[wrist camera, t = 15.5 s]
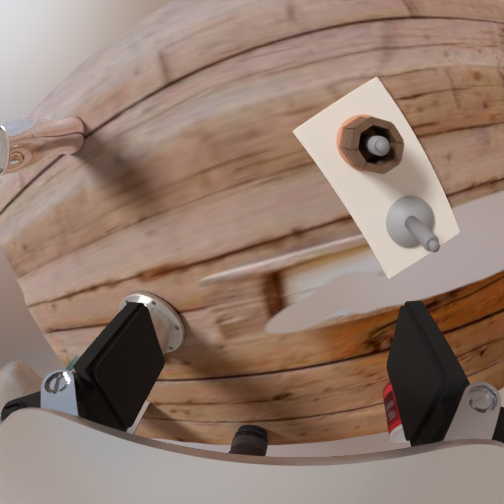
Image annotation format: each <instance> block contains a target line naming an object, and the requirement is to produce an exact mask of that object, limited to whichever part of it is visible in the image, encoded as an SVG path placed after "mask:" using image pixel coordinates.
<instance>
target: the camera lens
mask: <svg viewBox="0 0 504 504" xmlns="http://www.w3.org/2000/svg"><path fill="white" fill-rule="evenodd" d="M267 441H268V439H267V433H266V431H265V430H264V429H262V428H260V427H258V426H253V425H244V426H241V427H240V428H239V429H238V432H236V434H235V436H234V439H233V441H232V445H231V450H230V451H229V453H230V454H239V455H251V456H265V455H266V451H267Z"/></svg>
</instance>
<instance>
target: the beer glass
mask: <svg viewBox="0 0 504 504" xmlns="http://www.w3.org/2000/svg"><path fill="white" fill-rule="evenodd" d="M84 139H85V128H84V125H83V123H82V121H81V120H80V119H79V118H78V117H74V116H73V117H68V118H65V119H62V120H46V119H38V118H26V119H18V120H14V121H10V122H6V123H3V124H0V176H2V175H6V174H11V173H15V172H19V171H22V170H25V169H28V168H31V167H33V166H35V165H37V164H39V163H41V162H43V161H45V160H47V159H49V158H51V157H53V156H55V155H59V154H74V153H76V152H78V151H79V150H80V148H81V147H82V145H83V142H84Z"/></svg>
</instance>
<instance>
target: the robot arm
mask: <svg viewBox="0 0 504 504" xmlns="http://www.w3.org/2000/svg"><path fill="white" fill-rule="evenodd" d="M184 333H185V331H184V326H183V323H182V321H181V319H180V317H179V315H178V314H177V313H176V311H175V310H174V309H173V308H172V307H171V306H170V305H169V304H168V303H166V302H165V301H164V300H162V299H161V298H159V297H157V296H155V295H152V294H150V293H145V292H134V293H131V294H129V295H127V296H126V297H125V298H124V299H123V300H122V302H121V303H120V306H119V313H118V314H117V315H116V316H115V318H114V319H113V320H112V321H111V322H110V323H109V324H108V325H107V327H106V328H105V329H104V330H103V331H102V332H101V333H100V335H99V336H98V337H97V338H96V339H95V340H94V342H93V343H92V344H91V345H90V346H89V347H88V349H87V350H86V351H85V352H84V353H83V355H82V356H81V357H80V358H79V359H78V361H77V362H76V363H75V364H74V365H73V368H74V370H75V372H74V374H72V373H71V372H70V371H68V370H66V369H60V370H56V371H53V372H51V373H50V374H48V375H47V376H46V377H45V378H44V380H43V379H42V378H41V377H40V376H39V375H38V374H37V373H36V372H35V371H34V370H33V369H32V368H31V367H29V366H28V365H26V364H25V363H23V362H21V361H12V362H10V363H8V364H7V365H5V366H4V367H3V368H2V369H1V370H0V504H504V407H501V397H500V394H499V392H498V390H497V389H496V388H495V387H494V386H493V385H491V384H489V383H486V382H482V381H481V382H474V383H471V384H470V383H469V381H468V379H467V377H466V375H465V373H464V371H463V369H462V367H461V366H460V364H459V362H458V360H457V358H456V356H455V355H454V353H453V351H452V349H451V348H450V346H449V344H448V342H447V341H446V339H445V337H444V336H443V335H442V333H441V331H440V330H439V328H438V326H437V325H436V323H435V321H434V320H433V318H432V316H431V315H430V313H429V312H428V310H427V309H426V307H425V306H424V304H423V302H422V301H407V302H406V303H405V305H404V306H401V307H400V310H399V315H398V320H397V324H396V329H395V333H394V337H393V341H392V345H391V349H390V353H389V356H388V360H387V371H388V375H389V378H390V382H391V385H392V389H393V392H394V396H395V400H396V403H397V407H398V411H399V415H400V419H401V423H402V427H403V431H404V436H405V439H406V441H410V443H411V447H409V448H404V449H397V450H391V451H384V452H376V453H367V454H358V455H348V456H333V457H298V458H297V457H265V456H251V455H239V454H230V453H221V452H214V451H207V450H201V449H195V448H189V447H184V446H179V445H174V444H170V443H165V442H161V441H156V440H152V439H148V438H145V437H141V436H137V435H134V434H130V433H127V432H126V431H127V429H128V428H130V427H132V425H133V424H134V422H135V420H136V418H137V416H138V414H139V412H140V410H141V408H142V406H143V405H144V403H145V401H146V399H147V397H148V395H149V393H150V391H151V389H152V387H153V386H154V384H155V382H156V380H157V378H158V376H159V374H160V372H161V371H162V369H163V367H164V363H165V359H164V354H165V353H168V352H172V351H174V350H176V349H177V348H178V347H179V346H180V345H181V343H182V342H183V339H184Z"/></svg>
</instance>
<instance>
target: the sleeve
mask: <svg viewBox="0 0 504 504" xmlns="http://www.w3.org/2000/svg"><path fill="white" fill-rule="evenodd" d="M368 128H371V129H374V131H375V132H376V134H377V135H378V136H382V137H385V138H386V139H387V140H388V142H389V145H390V149H389V152H388V153H387V154H386V155H384V156H378V155H375V156H373V157H372V158H370V159H369V160H366V159H364V158H363V156H362V154H361V153H360V151H359V150H358V146H359V140H360V134H361V132H363V131H365V130H366V129H368ZM403 142H404V140H403V138H402V137H401V135H400V133H399V132H398V130H397V128H396V127H395V125H394V124H393V123H392V122H389V121H386V120H382V119H379V118H375V117H368V118H366V117H362V116H360V117H357V118H356V119H354V120H353V121H351V122H350V123H348V124H347V125H345V126H343V127H342V131H341V138H340V144H339V148H340V150H341V151H342V152H343V154H344V155H345V157H346V158H347V160H348V161H349V163H350V164H351V165H352V166H356V167H360V168H361V169H363V170H366V171H370V172H374V173H378V174H382V175H383V174H385V173H387V172H389V171H390V170H392V169H393V168H395V167H396V166H398V165H399V164H400V163H399V162H401V160H402V155H403V149H404V144H405V143H403Z"/></svg>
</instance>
